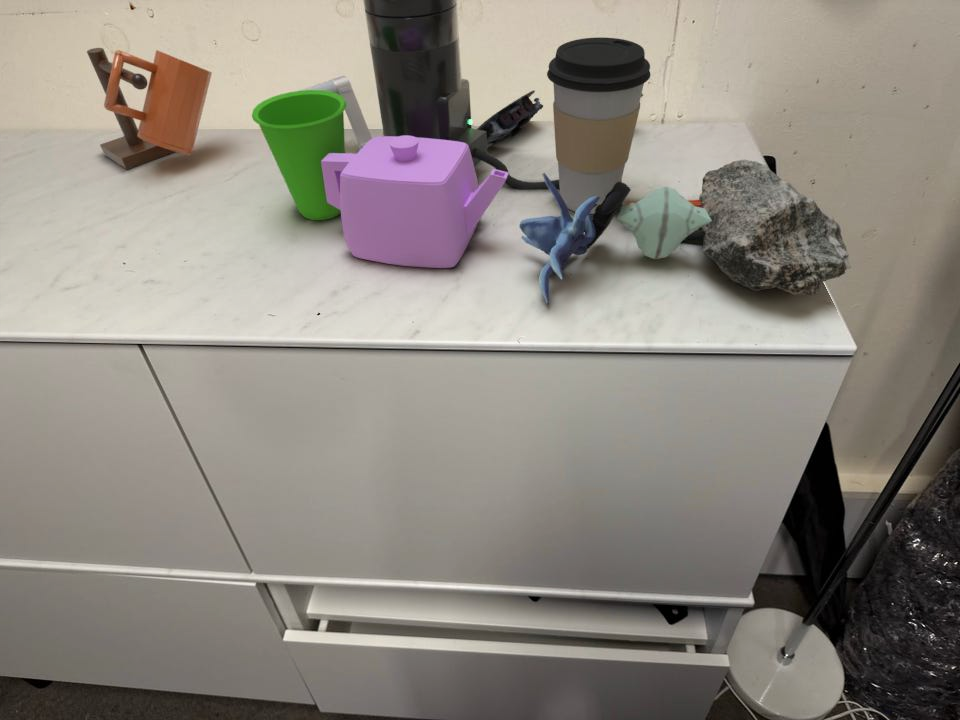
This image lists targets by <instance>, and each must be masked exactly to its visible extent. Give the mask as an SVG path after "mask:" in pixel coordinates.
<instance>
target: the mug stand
mask: <svg viewBox="0 0 960 720" xmlns="http://www.w3.org/2000/svg"><path fill="white" fill-rule="evenodd" d="M86 53H87V56H88V58H89V60H90V62H91V65H92V67H93V70H94V71H95V73H96V76H97V78H98V80H99V82H100V85H101V87H102V90H103V91H104V94H105V95H106V93H107V88H108V83H109V78H110V73H111V68H112V64H113V62H111V61H109V58H108V56H107V54H106V51H105V49H104V48H103V47H94V48H90V49H88V50H87V51H86ZM120 80H122V81H123V82H126V83H129V84H130V85H132V87H133V88H135V89H137V90H139V91H140V90H145V89H147V88H148V79H147V78H146V76H145V75H144V74H141V73H136V72H135V73H134V72H132V71H131V70H129V69H126V68H124V67H123V69H122V74H121V79H120ZM116 103H117V104H120V105H123V106H126V107H129V105H128V103H127V100H126V98H125V96H124V93H123V91H122V88H121V86H120V85H119V88H118V93H117V98H116ZM113 114H114V116H115V119H116V121H117V123H118V125H119V128H120V130H121V133H122V134H123V136H121V137H118V138H115V139H112V140H109V141H106V142H103V143H100V144H99V147H100V148H101V150H102V152H103V155H104V156H105V157H107V158H108V159H109V160H111V161H113V162H115V164H117V165H119V166H120V167H122V168H124V169H125V170H129V169H133V168H134V167H138V166H140V165H143V164H146V163H148V162H152V161H154V160H157V159H159V158H162V157H165V156H167V155H170V154H173V153H175V151H172V150H169V149H165V148H162V147H160V146H157V145H154V144H152V143H149V142H147V141H144V140H142V139H140V138H139V137H138V136H137V134H138V129H139V127H138V126H137V123H136V122H135V119H134V118H131V117H128V116H125V115H121V114H118V113H115V112H113Z"/></svg>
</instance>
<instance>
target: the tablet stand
mask: <svg viewBox="0 0 960 720" xmlns="http://www.w3.org/2000/svg"><path fill="white" fill-rule="evenodd" d="M304 90H323V91H329V92H333V93H336V94H338V95H340V96H342V97H343V99H344V100H345V101H346V108H345V110H344V111H345V114H346V117H347V119H348V121H349V123H350V127H351V129H352V131H353V134H354V136H355V139H356V141H357V144H358V152H359V151H360V150H361V149H362V148H363V147H364V146H365V145H366V144H367V143H368V142H369V141H370V140H371V139H372V138H373V137H372V134H371V132H370V130H369V127H368V124H367V122H366V119H365V117H364V114H363V112H362V110H361V109H362V108H361V106H360V103H359V101H358V99H357V96H356V93H355V91H354V88H353V86H352V83H351V81H350V79H349V78H348V77H347V76H346V75H340V76H339V77H336V78H332V79H329V80H326V81H323V82H320V83H317V84H314V85H312V86H308V87H304V88H302V89H299V90H298V91H304ZM358 152H356V153H355V154H357V153H358Z"/></svg>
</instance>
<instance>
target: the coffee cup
mask: <svg viewBox="0 0 960 720" xmlns="http://www.w3.org/2000/svg"><path fill="white" fill-rule="evenodd" d="M645 55H646V53H645V49H644V47H643V46H642V45H640V44H638V43H636V42H634V41H632V40H628V39H623V38H617V37H603V36H602V37H585V38H578V39H574V40H570V41H567V42H565V43H563V44H561V45H559V46H558V47H557V49H556V51H555V57H553V58H552V59H551V60H550V61H549V64H548V70H547V72H546V77H547V79H548V80H549V81H550V82H552V83H553V84H552V85H553V98H554V99H553V103H552V108H553V109H552V111H553V129H554V143H555V144H554V145H555V158H556V161H557V168H558V180H559V186H560V189H559V193H560V195H561V196H562V198H563V200H564V202H565V204H566V205H567V207H568V210H570V211H572V212H576V211H577V209H578V208H579V207H580V205H582V204H583V203H584V202H585V201H587V200H588V199H590V198H592V197H595V196H597V197H600V198H599V200H598V201H597V203H596V204H597V206H598V205H599V204H600V205H601V204H602V202H603V201H604V200H605V197H606V195H607V194H608V192H610V191H611V190H612V189H613V186H614V185H615V184H616V183H617V182H619V181H620V182H622V180H623V179H622V178H623V175H624V171H625V166H626V163H627V162H628V160H629V156H630V151H631V148H632V144H633V139H634V134H635V131H636V127H637V122H638V118H639V115H640V109H641V99H642V97H641V94H643V90H644V85H645V83H646V82H648V81H649V80H650V78H651V71H650V69H651V64H650V62H649V61H648V59H646V57H645ZM597 206H595V207H594V208H593V209H592V210H591V211H590V215H594V213H595V212H596V211H595V209H596V207H597Z"/></svg>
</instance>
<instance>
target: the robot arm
mask: <svg viewBox="0 0 960 720" xmlns="http://www.w3.org/2000/svg"><path fill="white" fill-rule="evenodd" d="M363 6H364V7H363V8H364V13H365V14H364V15H365V21H366V27H367V33H368V40H369V46H370V47H369V49H370V52H371V54H370V55H371V61H372V68H373V73H374V79H375V86H376V94H377V100H378V106H379V113H380V119H381V124H382V125H381V126H382V136H396V137H398V136H404V135H408V136H414V137H418V138H431V139H441V140H450V141H458V142H463V143H466V144H467V145H468V146H469V149H470V152H471V156H472V160H473V164H474V167H476V165H478V164H479V163H480V162H481V161H482V162H483V163H486V164H488V165H490V166H491V167H493V169H497V170H501V171H504V172H508V173H509V174H508V177H507V179H506V181H505V183H504V184H506V185H508V186H509V187H511V188H513V189H515V190H516V189H517V190H523V191H531V190H532V191H535V190H537V191H538V190H549V188H548V186H547V185H546V183H545V181H537V182H536V181H535V182H533V181H532V182H531V181H523V180H520V179H517V178H515V177H513V176H511V175H510V172H509V169H508V168H507V166H506V165H505V164H504V163H503V162H502V161H501V160H500V159H499V158H497V157H496V156H493V155H491V154H489V153H488V147H487V132H486V131H483V130H477V128H472V124H473V120H472V109H471V91H470V90H471V88H470V81H469V80H468V79H467V78H463V77H462V61H461V60H462V59H461V46H460V43H461V42H460V29H459V28H460V27H459V26H460V25H459V13H458V12H459V10H458V0H363ZM550 181H551V182H552V184H553V185H554V186H555V187H556V188H557V190H560V186H559V179H554V180H550ZM622 206H624V204H623V203H622V204H621V205H620V207H619V209H618V210H617V212H616V214H617V215H618V214H619V212H620V210H621V208H622ZM704 236H705V232H704V231H703V230H699V229H697V230H696V231H694V232H692V233H691V234H690V235H689V236H687V237H686V238H685V239H684V240H683V241H693V242H703V237H704Z"/></svg>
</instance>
